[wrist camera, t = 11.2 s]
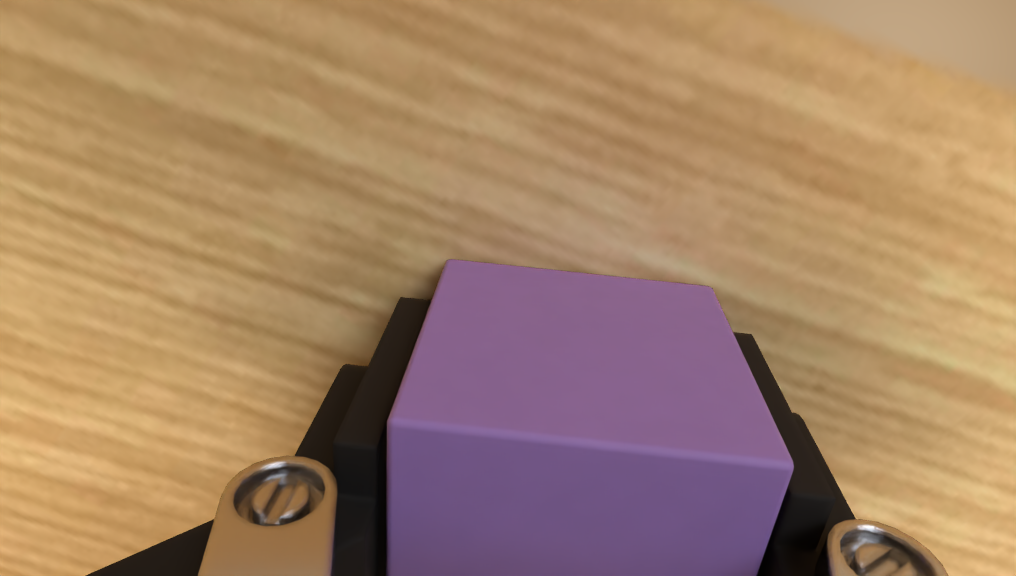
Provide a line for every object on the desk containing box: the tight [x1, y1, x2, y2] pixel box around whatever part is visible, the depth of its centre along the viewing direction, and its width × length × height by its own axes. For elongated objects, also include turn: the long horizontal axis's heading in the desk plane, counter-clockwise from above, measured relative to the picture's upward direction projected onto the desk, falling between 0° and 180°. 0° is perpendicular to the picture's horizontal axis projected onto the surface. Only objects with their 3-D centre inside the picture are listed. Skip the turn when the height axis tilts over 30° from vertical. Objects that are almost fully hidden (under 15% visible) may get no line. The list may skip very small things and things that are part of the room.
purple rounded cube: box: [386, 259, 794, 576], centre depth 10 cm, size 4×4×4 cm
